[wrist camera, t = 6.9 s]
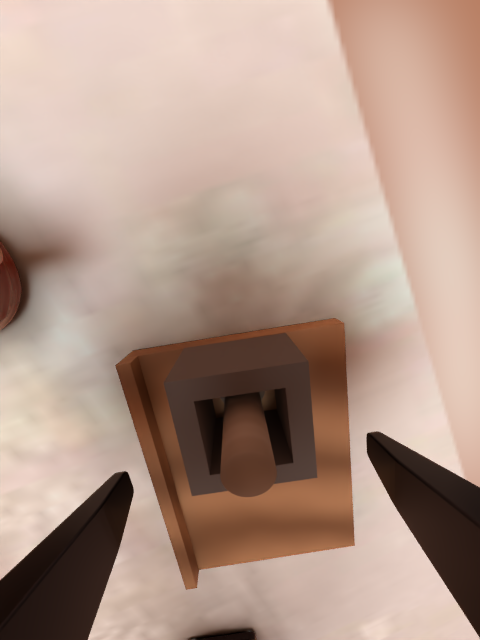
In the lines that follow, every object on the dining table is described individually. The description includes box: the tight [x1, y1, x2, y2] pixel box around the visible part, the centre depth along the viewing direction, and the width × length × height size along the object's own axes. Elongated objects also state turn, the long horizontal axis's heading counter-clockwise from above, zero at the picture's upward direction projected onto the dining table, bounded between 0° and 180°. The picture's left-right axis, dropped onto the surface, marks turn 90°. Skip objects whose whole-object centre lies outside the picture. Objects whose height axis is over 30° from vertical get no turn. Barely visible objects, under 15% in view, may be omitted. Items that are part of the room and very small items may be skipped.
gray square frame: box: [164, 333, 318, 496], centre depth 12 cm, size 6×6×4 cm
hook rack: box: [115, 318, 355, 590], centre depth 13 cm, size 18×13×7 cm
